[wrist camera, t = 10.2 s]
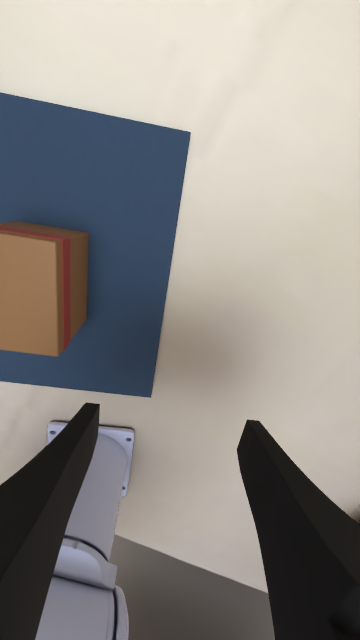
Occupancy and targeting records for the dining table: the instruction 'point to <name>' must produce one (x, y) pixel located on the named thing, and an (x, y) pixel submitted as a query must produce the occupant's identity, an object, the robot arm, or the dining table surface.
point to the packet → (41, 287)
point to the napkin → (97, 233)
